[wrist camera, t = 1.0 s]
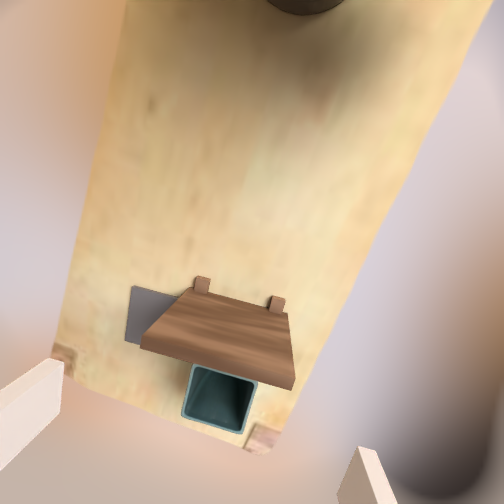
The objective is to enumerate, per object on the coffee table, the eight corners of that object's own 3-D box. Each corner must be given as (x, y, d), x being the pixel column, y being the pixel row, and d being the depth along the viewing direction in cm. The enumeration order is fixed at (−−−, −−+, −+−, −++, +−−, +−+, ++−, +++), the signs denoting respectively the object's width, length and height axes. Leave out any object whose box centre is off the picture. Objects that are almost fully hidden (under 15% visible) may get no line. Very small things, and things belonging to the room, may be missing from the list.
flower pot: (210, 326, 39) (191, 362, 30) (262, 341, 38) (259, 382, 30) (199, 371, 41) (179, 417, 32) (249, 385, 40) (242, 436, 32)
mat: (134, 285, 38) (132, 286, 38) (193, 301, 38) (191, 303, 37) (126, 338, 41) (124, 340, 40) (182, 354, 40) (181, 356, 40)
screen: (192, 274, 37) (144, 315, 23) (291, 300, 37) (301, 359, 23) (185, 308, 38) (136, 366, 25) (281, 334, 38) (285, 408, 24)
